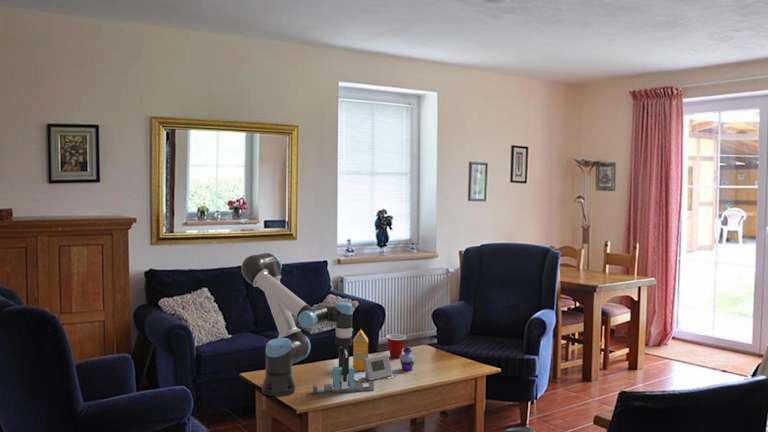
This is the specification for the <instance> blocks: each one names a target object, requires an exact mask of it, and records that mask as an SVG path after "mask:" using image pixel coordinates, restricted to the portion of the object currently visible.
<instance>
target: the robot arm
mask: <svg viewBox="0 0 768 432" xmlns="http://www.w3.org/2000/svg"><path fill="white" fill-rule="evenodd" d="M282 268H283V265H282V262H281V258H279V257H278V256H277V255H276V254H275V253H272V252H264V253H260V254H252V255H249V256H247V257H246V258H244V259H243V262H242V264H241V267H240V269H241V273H242V276H243V278H245V280H246V282H248V283H250V285H252V286H253V287H254V288H255V287H258V288H259V289H260V290H262V291H263V293H264V295H265V298H266V301H267V304H268V306H269V308H270V311H271V315H272V316H273V319H274V322H275V325H276V328H277V332H278V337H277V338H273V339H270V340H269V341H268V342H266V345H265V352H264V353H265V377H264V380H263V382H262V385H261V393H262V394H264V395H265V396H269V397H270V396H271V397H284V396H288V395H292V394H294V393H295V392H296V385H295V382H294V378H293V375H292V365H293V364H296V363H298V362H301V361H303V360H304V359H306V358H307V357H308V355H309V354H310V352H311V348H312V347H311V342H310V339H309V338H308V336H306V335H305V334H303V332H302V329H300V328H298V327H297V325H296V323H295V320H294V317H296V318H297V321H298V324H299V326H301V328H303V329H310V328H314V327H316V326H318V325H321V324H324V323H335V336H336V337H335V345H336V346H338V348H337V349H338V366H337V367H342V374H341V375H342V381H339V383H341V388H342V389H347V388H349V387H348V374H349V366H350V351H349V347H350V346H353V337H352V336H353V332H354V329H353V313H354V312H353V304H352V303H351V302H349V301H344V302H343V301H339V302H336V304H335V305H327V304H326V305H325V304H314V305H313V306H312V307H311V306H310V305H309V304H307V303H306V302H305V301H303V300H302V299H301V298H300V297H298V296H297V295H296V294H294V292H292V291H291V290H290V289H288V288H287V287H286V286H285V285H283V284H282V283H281V279H282V274H281V272H282Z"/></svg>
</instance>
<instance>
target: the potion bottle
mask: <svg viewBox="0 0 768 432" xmlns="http://www.w3.org/2000/svg"><path fill="white" fill-rule="evenodd" d="M402 353H404V354H401V355H400V356H399V357H400V358H399V363H400V366H401V371H403V372H411V371H413V366H414V365H415V360H416V355H413V354H411V353H412V348H411V346H409V345H408V346H403V350H402Z"/></svg>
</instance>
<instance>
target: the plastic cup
mask: <svg viewBox="0 0 768 432" xmlns="http://www.w3.org/2000/svg"><path fill="white" fill-rule="evenodd" d="M386 339H387V342H388V343H387V344H388V349H389V356H390V357H389V358H391V359H393V360H394V359H400V357H399V356H400V355H403V354H402V353H403V349H404V343H405V340H406V339H407V336H406V335H403V334H399V333H390V334H387V335H386Z"/></svg>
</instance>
